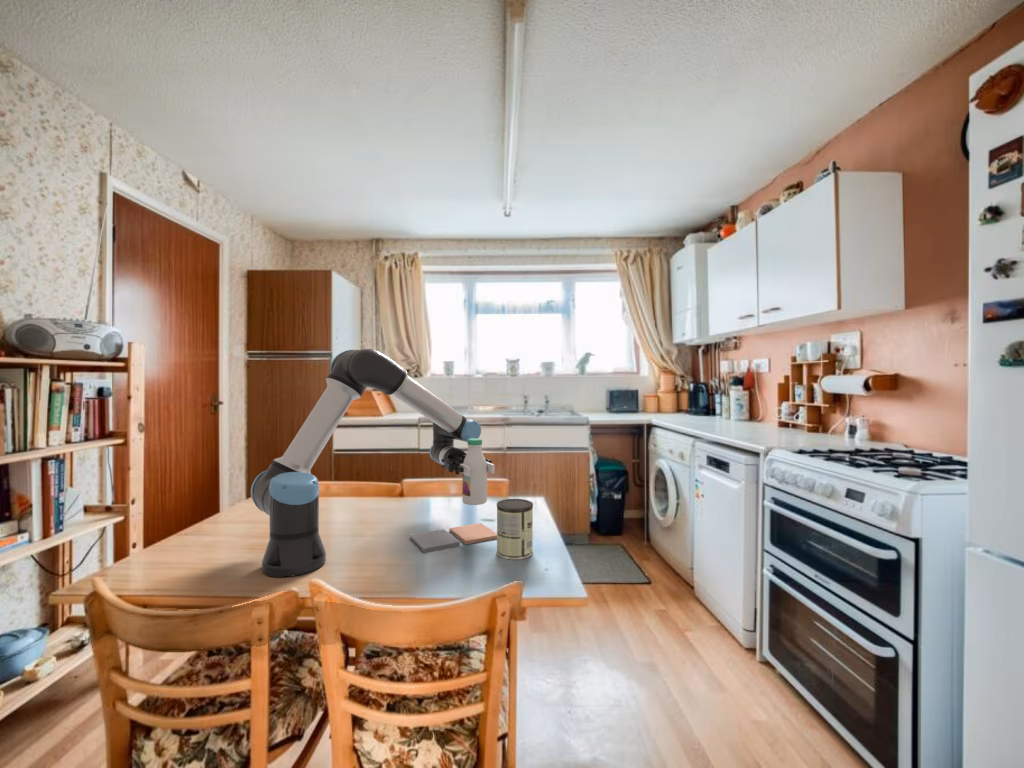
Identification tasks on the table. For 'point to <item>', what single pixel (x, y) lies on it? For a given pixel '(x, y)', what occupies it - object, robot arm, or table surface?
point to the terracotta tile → (473, 533)
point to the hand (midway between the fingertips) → (481, 470)
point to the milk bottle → (475, 474)
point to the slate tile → (434, 540)
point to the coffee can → (514, 529)
